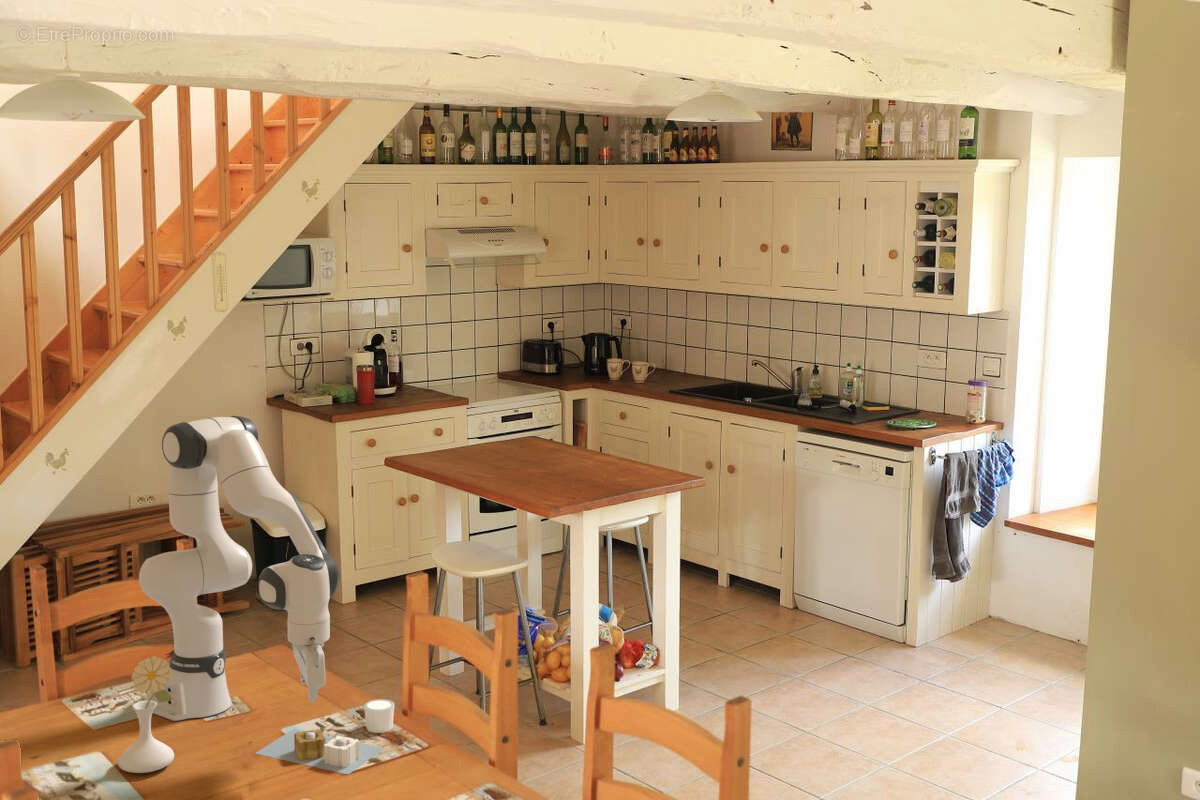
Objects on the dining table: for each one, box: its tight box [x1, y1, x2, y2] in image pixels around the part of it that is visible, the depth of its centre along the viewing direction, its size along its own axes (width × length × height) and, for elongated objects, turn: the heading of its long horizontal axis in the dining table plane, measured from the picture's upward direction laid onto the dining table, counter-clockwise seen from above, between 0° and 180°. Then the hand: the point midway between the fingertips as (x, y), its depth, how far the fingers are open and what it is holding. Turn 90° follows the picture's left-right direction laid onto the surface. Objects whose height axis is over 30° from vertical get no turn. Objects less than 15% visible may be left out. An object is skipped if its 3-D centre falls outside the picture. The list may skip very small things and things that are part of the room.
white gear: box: [324, 735, 360, 768], centre depth 256 cm, size 7×7×4 cm
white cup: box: [363, 698, 396, 734], centre depth 273 cm, size 7×7×7 cm
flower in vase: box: [117, 655, 175, 774], centre depth 253 cm, size 13×11×25 cm
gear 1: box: [294, 728, 325, 760], centre depth 259 cm, size 7×7×4 cm
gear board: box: [254, 728, 385, 775], centre depth 261 cm, size 24×14×6 cm, turn 68°
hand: (309, 691), depth 258 cm, fingers open, 8 cm apart
